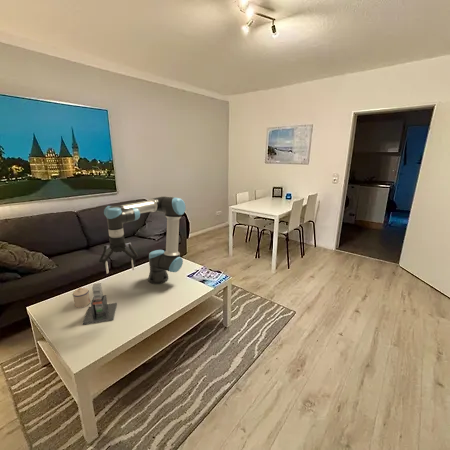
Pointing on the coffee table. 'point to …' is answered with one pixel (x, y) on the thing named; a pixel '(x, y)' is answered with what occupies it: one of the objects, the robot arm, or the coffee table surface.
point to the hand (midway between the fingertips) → (120, 271)
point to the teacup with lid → (81, 297)
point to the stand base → (96, 318)
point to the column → (98, 297)
